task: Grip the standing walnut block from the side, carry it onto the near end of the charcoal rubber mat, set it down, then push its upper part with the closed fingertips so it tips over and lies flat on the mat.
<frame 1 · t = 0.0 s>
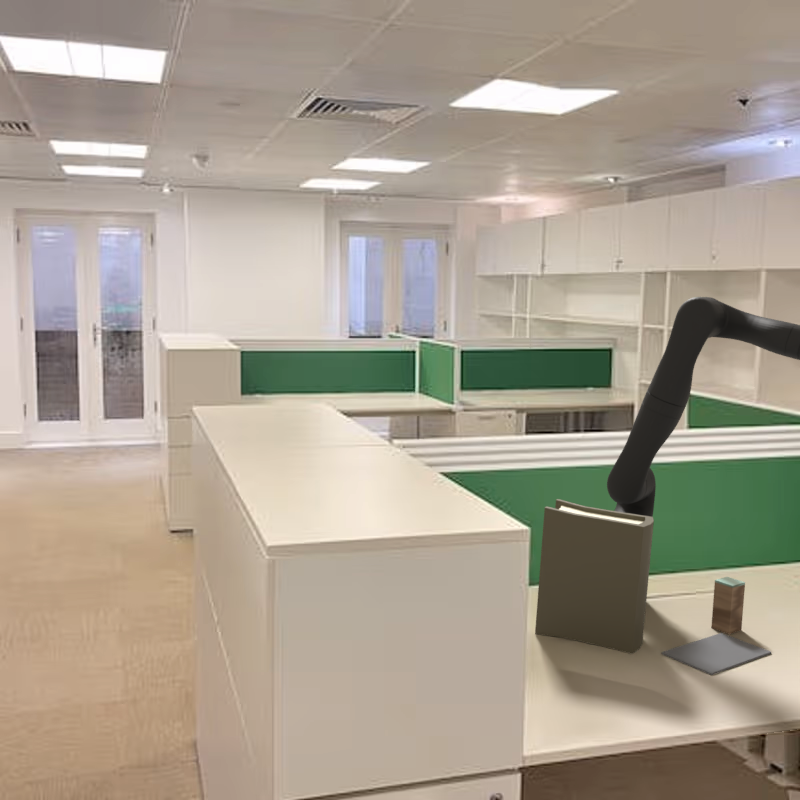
rubber mat: (716, 653, 187), on the table
walnut block: (726, 629, 201), on the table
book: (591, 637, 194), on the table
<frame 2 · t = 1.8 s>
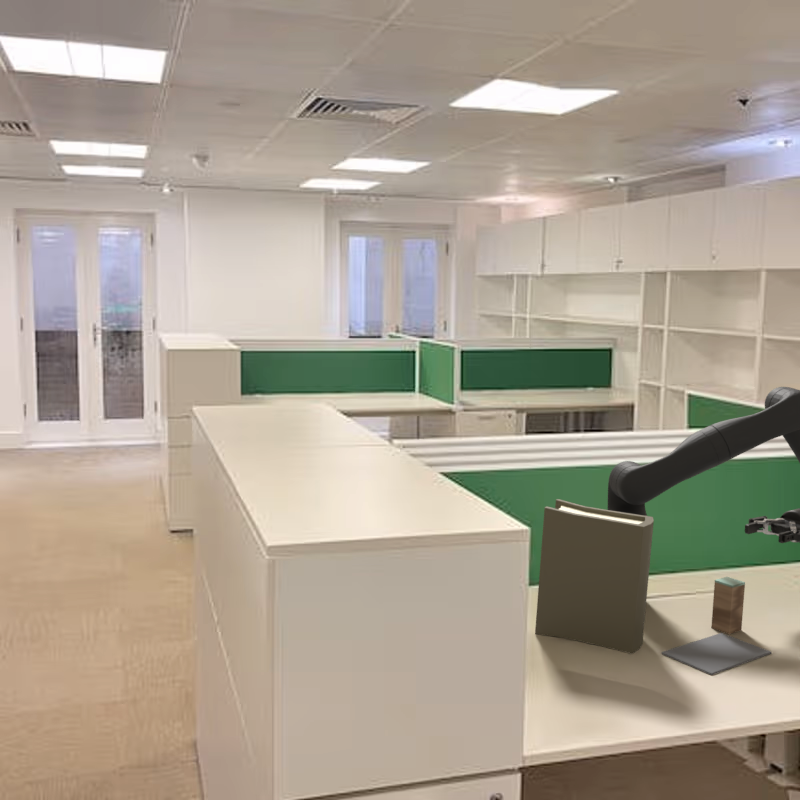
hand: (763, 533, 205), 20 cm above the table, fingers open, 8 cm apart
nothing on the table moved.
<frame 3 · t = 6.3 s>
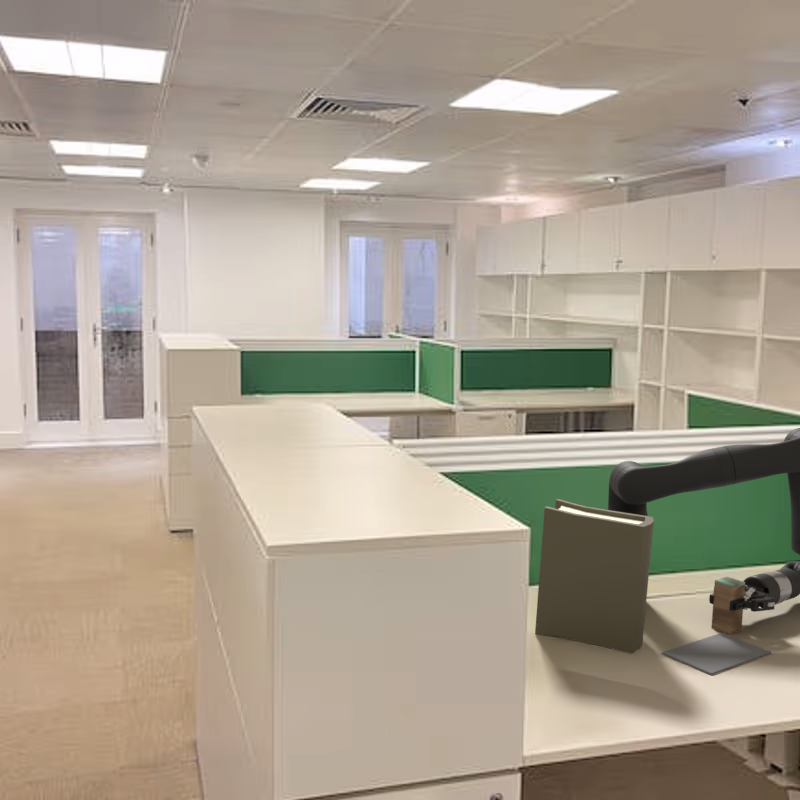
hand: (721, 602, 199), 7 cm above the table, fingers closed on walnut block, 4 cm apart
walnut block: (726, 628, 201), on the table, touching gripper
everything else where it was.
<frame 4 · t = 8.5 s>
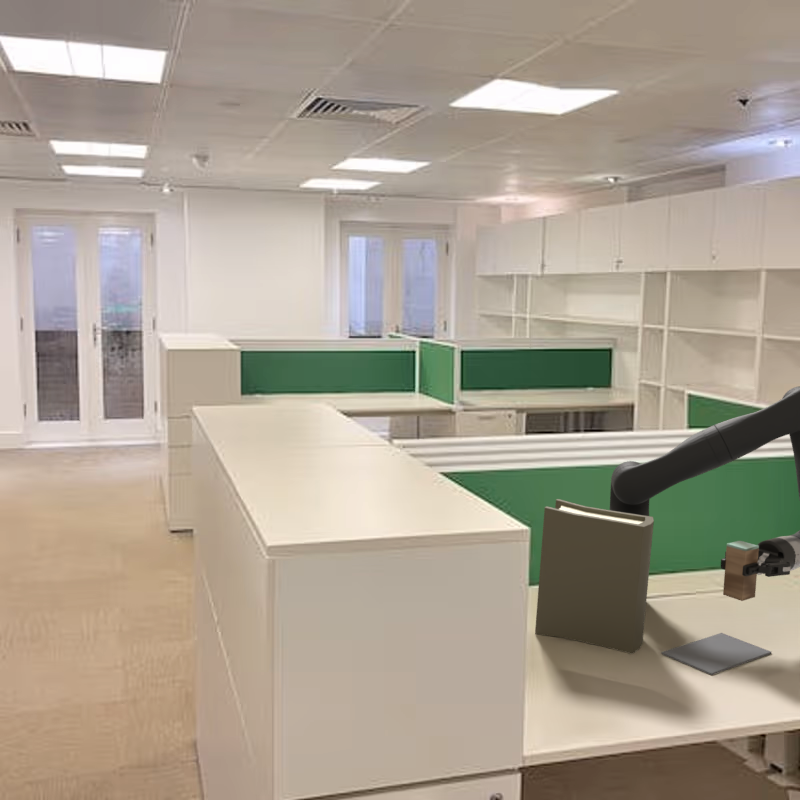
hand: (733, 567, 187), 18 cm above the table, fingers closed on walnut block, 4 cm apart
walnut block: (739, 595, 189), point 11 cm above the table, touching gripper
everything else where it was.
when the fingers open (7 cm above the table, at t = 10.8 s): walnut block stays where it is, resting on rubber mat.
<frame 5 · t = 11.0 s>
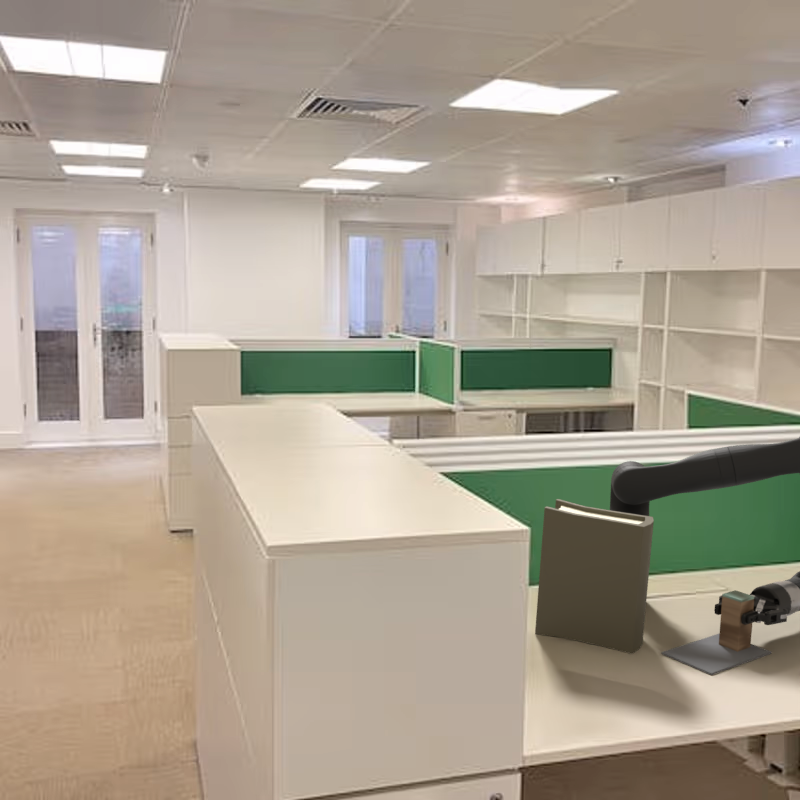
hand: (729, 614, 188), 8 cm above the table, fingers open, 6 cm apart
walnut block: (734, 645, 191), resting on rubber mat
everything else where it was.
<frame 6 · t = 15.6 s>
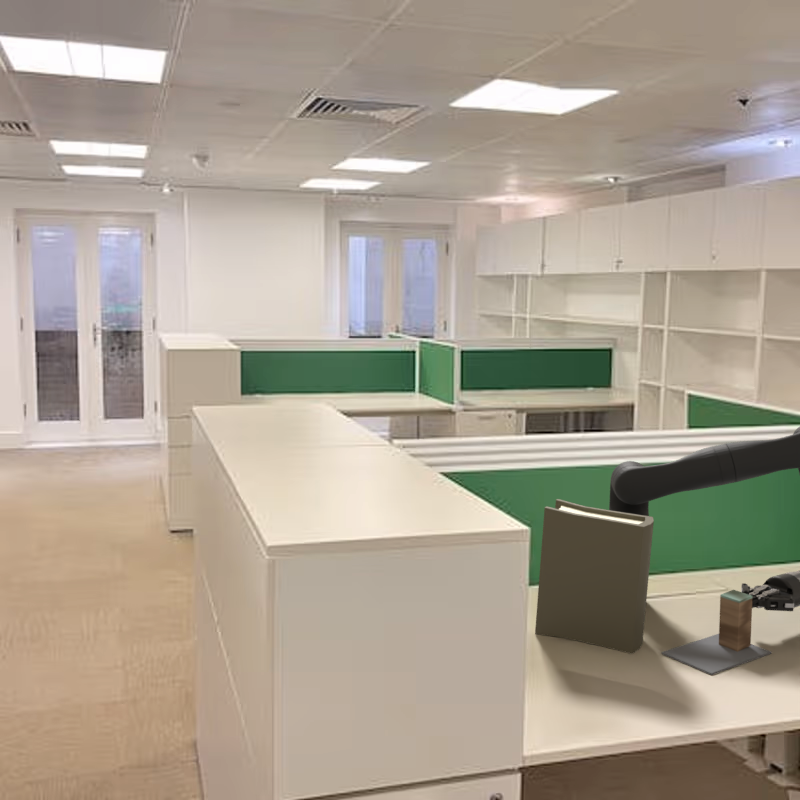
hand: (742, 604, 191), 9 cm above the table, fingers closed
walnut block: (734, 645, 191), point 1 cm above the table, touching gripper, rubber mat
everything else where it was.
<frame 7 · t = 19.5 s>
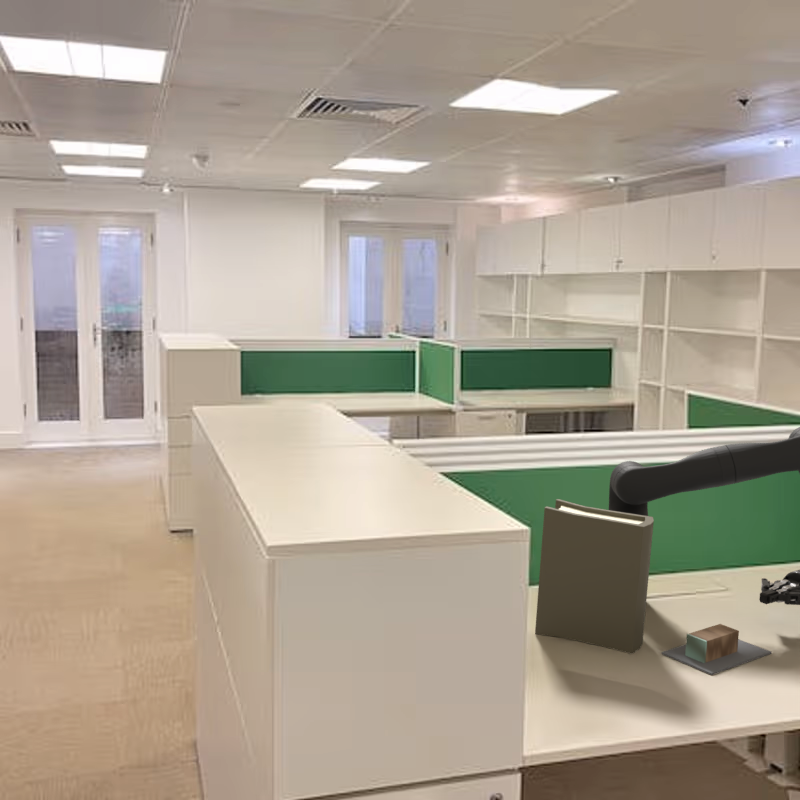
hand: (763, 598, 195), 9 cm above the table, fingers closed
walnut block: (728, 637, 189), point 3 cm above the table, tilted 90°, touching rubber mat
everything else where it was.
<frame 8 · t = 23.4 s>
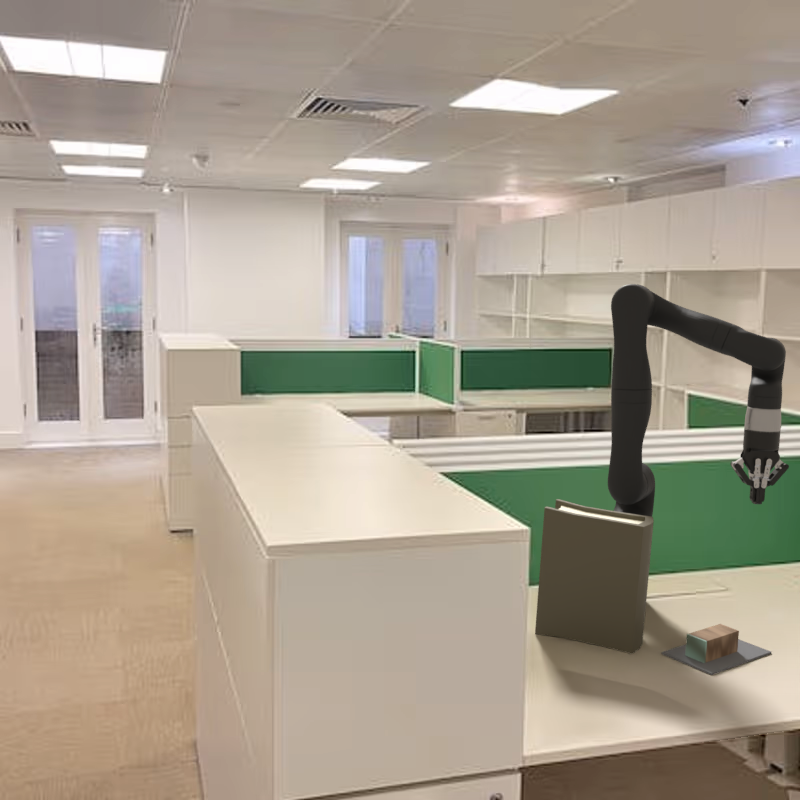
hand: (756, 503, 204), 27 cm above the table, fingers closed
nothing on the table moved.
at the end: walnut block tilted 90°; walnut block 3.8 cm from the rubber mat (horizontally); walnut block point 2.6 cm above the table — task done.
